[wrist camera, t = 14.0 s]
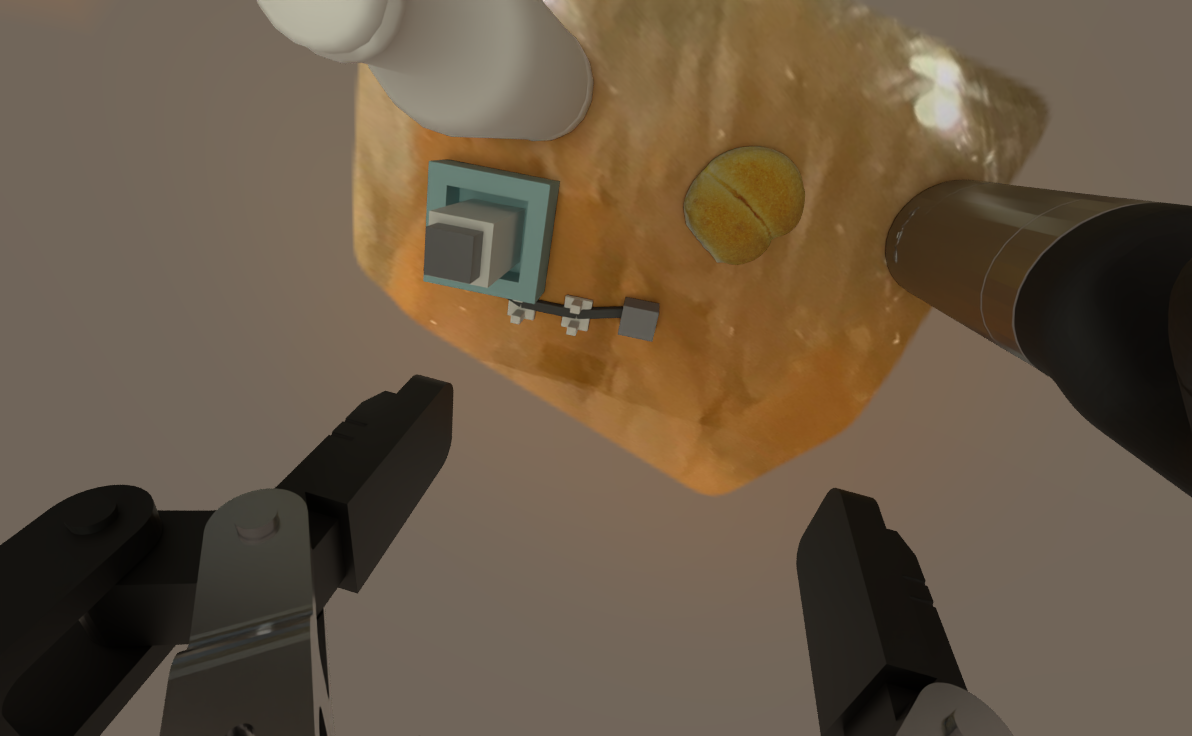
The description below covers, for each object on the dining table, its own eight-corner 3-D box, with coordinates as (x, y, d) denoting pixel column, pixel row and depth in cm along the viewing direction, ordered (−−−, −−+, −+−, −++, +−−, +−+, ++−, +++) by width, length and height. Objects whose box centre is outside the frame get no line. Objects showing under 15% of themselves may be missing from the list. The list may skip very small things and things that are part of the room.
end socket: (559, 181, 44) (550, 184, 40) (544, 291, 48) (534, 304, 44) (448, 159, 44) (428, 160, 40) (441, 270, 48) (423, 281, 44)
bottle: (614, 102, 41) (513, 19, 14) (532, 161, 43) (307, 191, 16) (556, 0, 39) (300, -342, 11) (474, 68, 41) (98, -82, 14)
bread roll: (819, 201, 42) (834, 207, 39) (728, 275, 45) (734, 287, 42) (755, 118, 41) (765, 116, 37) (665, 201, 44) (665, 206, 40)
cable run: (659, 303, 47) (658, 312, 44) (650, 342, 48) (649, 353, 46) (505, 272, 47) (496, 279, 45) (500, 311, 49) (491, 320, 46)
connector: (525, 208, 44) (484, 228, 34) (519, 262, 46) (478, 295, 36) (473, 198, 44) (416, 214, 34) (468, 251, 46) (414, 282, 36)
